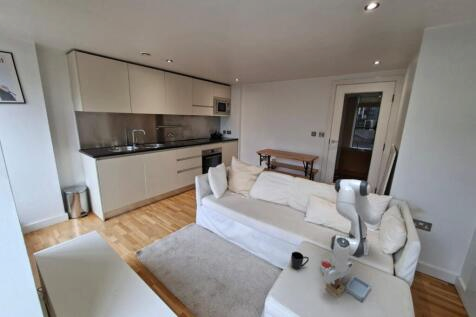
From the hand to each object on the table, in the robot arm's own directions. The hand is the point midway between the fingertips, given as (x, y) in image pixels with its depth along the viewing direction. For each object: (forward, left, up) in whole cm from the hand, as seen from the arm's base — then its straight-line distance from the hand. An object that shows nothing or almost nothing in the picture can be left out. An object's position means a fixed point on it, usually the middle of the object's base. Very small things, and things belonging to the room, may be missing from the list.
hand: (335, 282), depth 122 cm
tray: (-12, +9, -6) cm, 16 cm away
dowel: (0, 0, -6) cm, 6 cm away
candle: (-10, -11, -6) cm, 16 cm away
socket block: (0, 0, -6) cm, 6 cm away
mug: (+2, -25, -6) cm, 26 cm away
